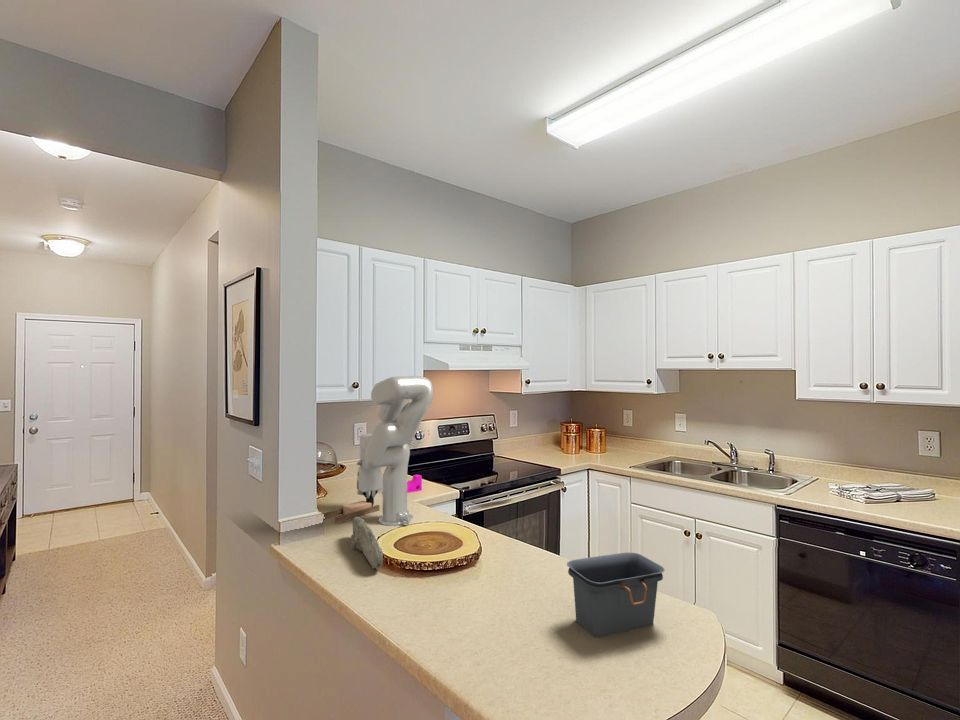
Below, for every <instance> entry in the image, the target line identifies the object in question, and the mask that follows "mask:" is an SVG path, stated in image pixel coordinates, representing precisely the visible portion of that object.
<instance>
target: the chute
mask: <svg viewBox="0 0 960 720" xmlns="http://www.w3.org/2000/svg"><path fill="white" fill-rule="evenodd" d="M379 511H380V504H376V505H373V506H372V507H369V508H366V509H362V510H359V511H356V512H352V513H349V514H346V515H344V514H343V507H341V508H340V507H339V508H337V509H333V510H330V511H326V512H323V514H324V517H325V519H324V520H327V519H330V518H333V517H335V518H334V523H335V525H337V524H341V523H344V522H346V521H347V520H348V521H350V519H351V520H353V519H354V518H355V517H360V518H361V517H363V516H366V514H367V515H369V514H372V513H373V514H374V513H376V512H379ZM340 514H341V515H340Z"/></svg>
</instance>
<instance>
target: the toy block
mask: <svg viewBox="0 0 960 720" xmlns="http://www.w3.org/2000/svg"><path fill="white" fill-rule="evenodd" d="M422 485H423V475H420V474H414V475H413V476H412V479H411V480H407V494H408V493H414V492H421V491H422V490H423V488H422V487H423V486H422Z"/></svg>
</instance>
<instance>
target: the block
mask: <svg viewBox="0 0 960 720" xmlns="http://www.w3.org/2000/svg"><path fill="white" fill-rule="evenodd" d="M369 507H372V503H369V502H368V503H367V502H366V500H359V501H357V502H352V503H351V502H350V503H347V504H344V505H342V508H343V514H342V515H344V514H345V515H346V514H349V513H352V512H356V511H359V510H362V509H366V508H369Z"/></svg>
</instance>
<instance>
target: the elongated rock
mask: <svg viewBox="0 0 960 720" xmlns="http://www.w3.org/2000/svg"><path fill="white" fill-rule="evenodd" d="M350 541H351V545H350V547H351V549H352V550H358V551H359V552H362V553H363V554H364V555H363V556H364V557H365V558H366V559H367V561H368V563H369V565H370V566H371V568H372V569H376V570H378V569H381V566H383V563H384V562H383V561H384V555H383V554H384V553H383V552H384V551H383V549H382V548H381V547H380V545H379V542H378V541H377V538H376V535H375V534H374V532H373V530H372V529H371V527H370V526H368V523H367V522H365V519H364V518H361V516H360V517H355V518H354V519H352V534H351V535H350Z"/></svg>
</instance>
